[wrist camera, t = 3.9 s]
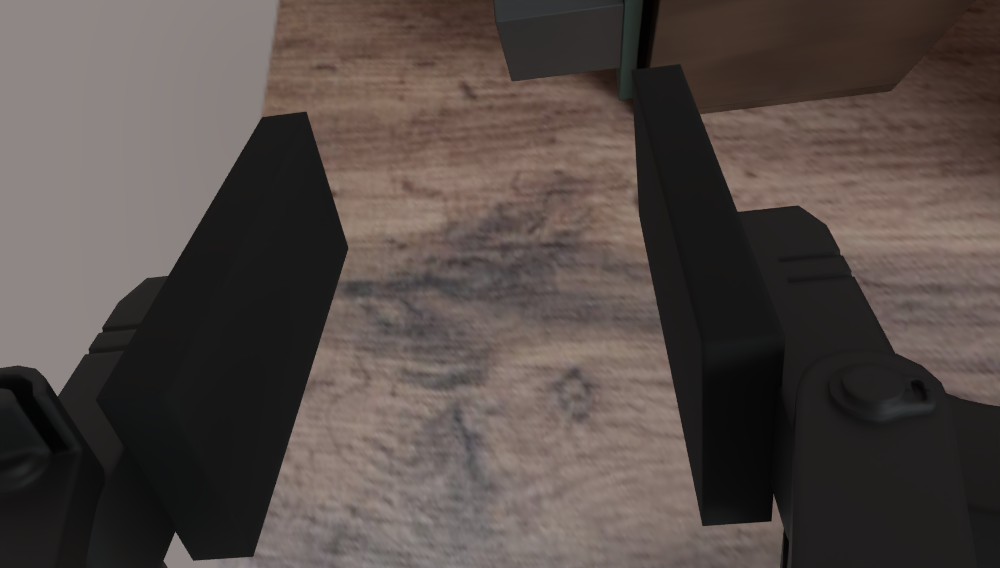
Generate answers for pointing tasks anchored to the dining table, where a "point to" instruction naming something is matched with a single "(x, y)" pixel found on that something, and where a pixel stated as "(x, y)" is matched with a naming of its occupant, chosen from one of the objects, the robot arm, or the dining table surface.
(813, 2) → the cupboard
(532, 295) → the dining table surface
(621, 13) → the door
